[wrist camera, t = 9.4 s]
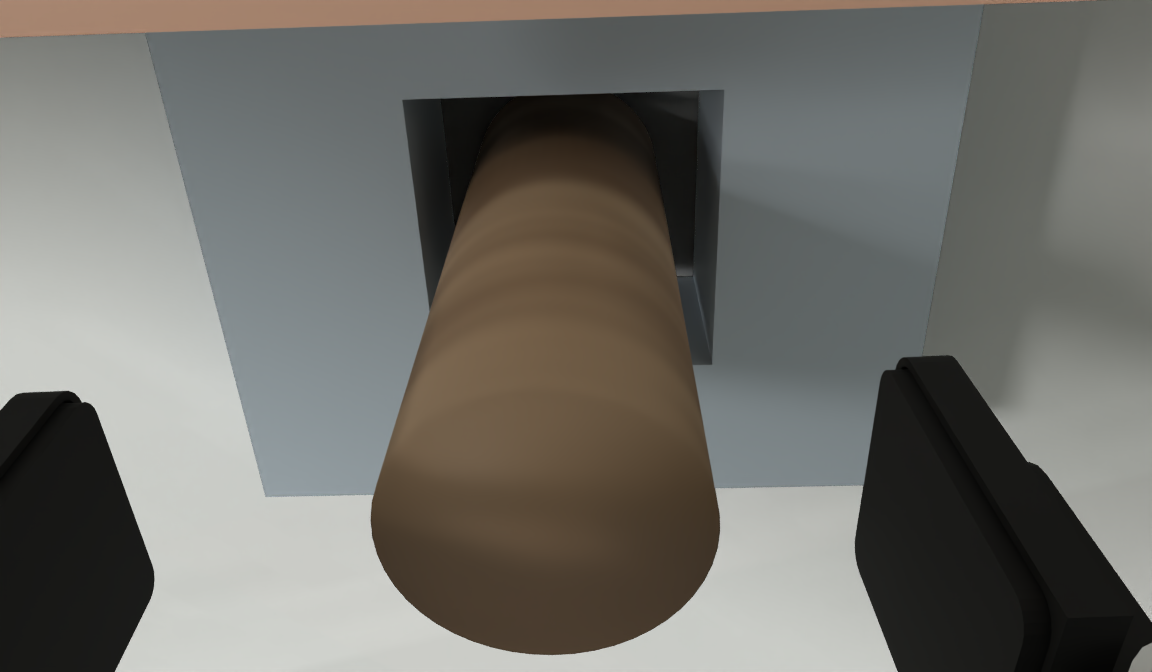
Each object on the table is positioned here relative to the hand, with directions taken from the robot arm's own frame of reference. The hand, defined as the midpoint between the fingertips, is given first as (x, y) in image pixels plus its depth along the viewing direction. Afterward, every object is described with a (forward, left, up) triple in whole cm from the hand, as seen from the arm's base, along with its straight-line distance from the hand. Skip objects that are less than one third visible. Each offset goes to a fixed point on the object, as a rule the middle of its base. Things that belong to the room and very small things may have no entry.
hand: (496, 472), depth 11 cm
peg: (+1, 0, -11) cm, 11 cm away
